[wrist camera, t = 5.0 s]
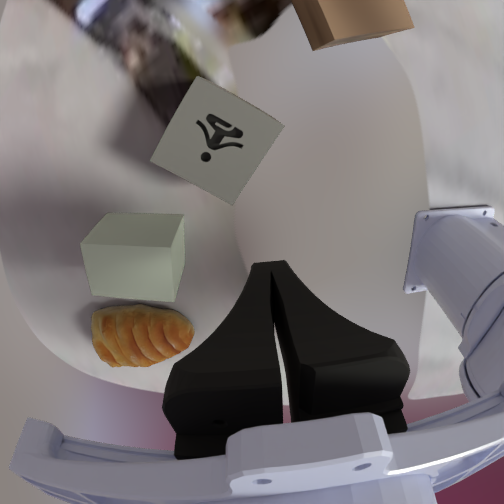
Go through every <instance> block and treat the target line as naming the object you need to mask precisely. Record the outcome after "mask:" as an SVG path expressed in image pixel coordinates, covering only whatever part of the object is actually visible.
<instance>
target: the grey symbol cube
mask: <svg viewBox="0 0 504 504" xmlns="http://www.w3.org/2000/svg"><path fill="white" fill-rule="evenodd" d="M283 128H284V125H283V124H281V123H280V122H279V121H277V120H276V119H275V118H273V117H272V116H270V115H268V114H267V113H265V112H263V111H262V110H260V109H259V108H257V107H255V106H254V105H251V104H250V103H248V102H247V101H245V100H243V99H241V98H240V97H238V96H236V95H234V94H233V93H231V92H229V91H227V90H225V89H224V88H222V87H220V86H218V85H216V84H214V83H212V82H211V81H209V80H206V79H204V78H201V77H199V76H197V77H196V78H195V80H194V82H193V83H192V85H191V87H190V88H189V90H188V92H187V93H186V95H185V97H184V98H183V100H182V102H181V103H180V105H179V107H178V109H177V110H176V112H175V114H174V116H173V118H172V119H171V121H170V123H169V125H168V127H167V129H166V130H165V132H164V134H163V136H162V138H161V140H160V142H159V144H158V146H157V148H156V149H155V151H154V153H153V155H152V157H151V159H150V162H152V163H154V164H156V165H158V166H160V167H162V168H164V169H166V170H168V171H170V172H171V173H173V174H175V175H177V176H179V177H181V178H183V179H185V180H186V181H188V182H190V183H192V184H194V185H196V186H198V187H199V188H201V189H203V190H205V191H207V192H209V193H211V194H212V195H214V196H216V197H218V198H220V199H221V200H223V201H225V202H227V203H229V204H231V205H233V204H234V202H235V201H236V199H237V198H238V196H239V194H240V193H241V191H242V190H243V188H244V187H245V185H246V184H247V182H248V181H249V179H250V178H251V176H252V174H253V173H254V171H255V170H256V168H257V167H258V165H259V164H260V162H261V160H262V159H263V158H264V156H265V155H266V153H267V152H268V150H269V149H270V147H271V146H272V144H273V143H274V141H275V139H276V138H277V137H278V135H279V134H280V132H281V131H282V129H283Z"/></svg>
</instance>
